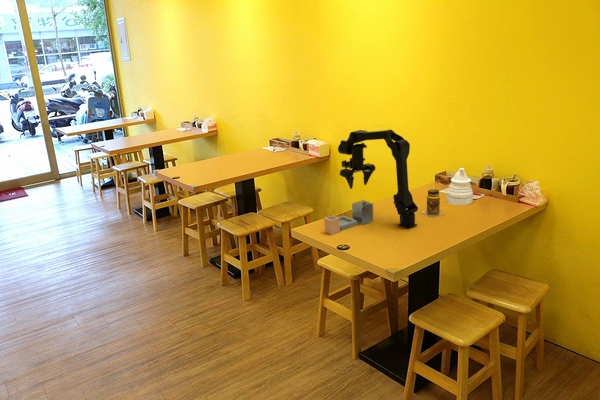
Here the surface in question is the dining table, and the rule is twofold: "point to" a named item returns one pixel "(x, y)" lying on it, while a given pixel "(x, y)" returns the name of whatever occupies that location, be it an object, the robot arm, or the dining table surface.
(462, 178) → the honey pot
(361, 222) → the junction box
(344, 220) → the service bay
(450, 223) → the dining table surface
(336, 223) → the block
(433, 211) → the condiment
